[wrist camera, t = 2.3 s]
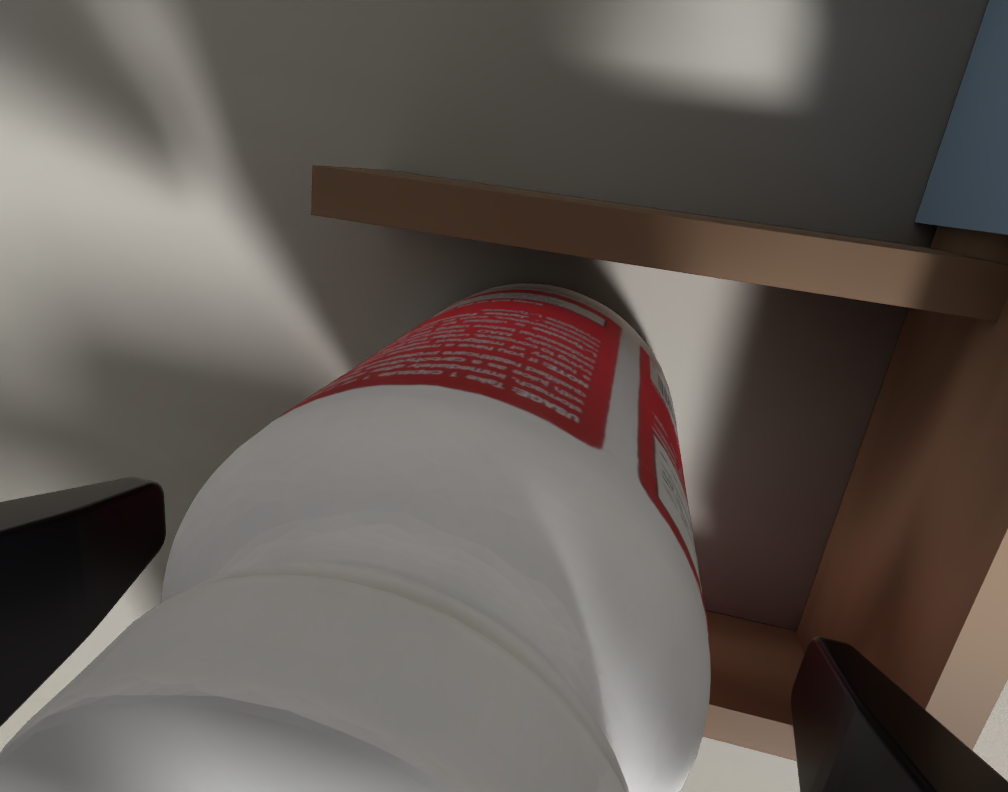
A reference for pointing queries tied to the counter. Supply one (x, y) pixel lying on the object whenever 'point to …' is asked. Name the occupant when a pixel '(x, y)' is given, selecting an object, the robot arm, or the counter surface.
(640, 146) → the counter surface
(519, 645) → the pill bottle
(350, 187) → the divider rack
